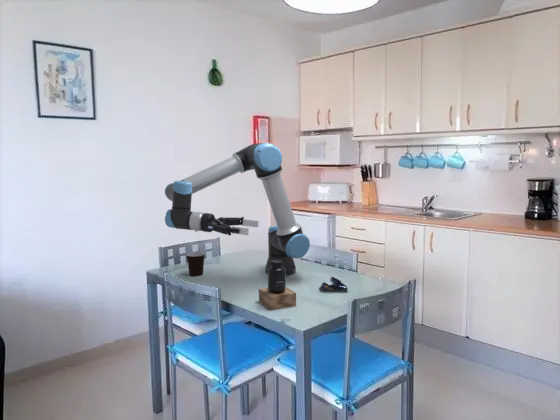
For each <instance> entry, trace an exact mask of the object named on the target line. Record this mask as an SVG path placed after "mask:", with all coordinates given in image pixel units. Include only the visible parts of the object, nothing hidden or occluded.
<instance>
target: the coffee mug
mask: <svg viewBox="0 0 560 420" xmlns="http://www.w3.org/2000/svg"><path fill="white" fill-rule="evenodd" d="M185 255H186V261H187V267H188V268H187V269H188V274H189V276H190V277H202V276H203V274H204V265H205V255H206V254H205V252H200V251H199V252H197V251H196V252H189V253H186V254H185Z"/></svg>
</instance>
